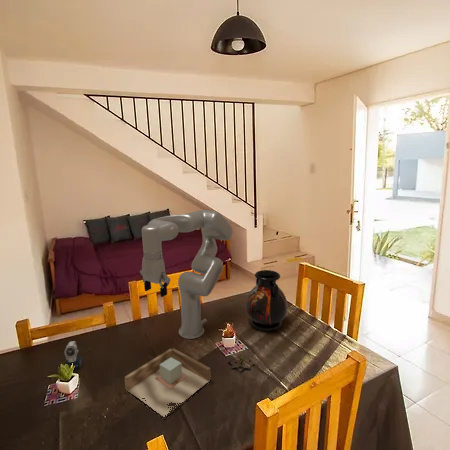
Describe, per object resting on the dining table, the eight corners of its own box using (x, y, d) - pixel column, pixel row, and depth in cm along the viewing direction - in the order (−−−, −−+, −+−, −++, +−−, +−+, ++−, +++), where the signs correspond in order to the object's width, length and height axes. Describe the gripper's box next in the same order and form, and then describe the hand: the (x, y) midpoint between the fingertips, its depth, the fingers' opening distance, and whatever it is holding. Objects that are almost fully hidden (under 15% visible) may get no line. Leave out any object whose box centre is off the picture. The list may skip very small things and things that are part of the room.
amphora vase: (238, 319, 177) (238, 270, 170) (271, 311, 186) (273, 264, 179) (258, 339, 158) (260, 285, 151) (295, 329, 167) (298, 278, 160)
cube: (171, 370, 134) (171, 357, 133) (181, 376, 130) (181, 363, 129) (160, 377, 129) (159, 364, 128) (170, 384, 126) (170, 370, 124)
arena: (172, 359, 142) (172, 347, 141) (210, 381, 129) (210, 368, 128) (125, 390, 124) (124, 376, 123) (164, 419, 111) (163, 404, 109)
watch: (64, 373, 133) (61, 349, 131) (68, 361, 141) (66, 338, 139) (79, 371, 135) (76, 347, 132) (82, 359, 142) (80, 337, 140)
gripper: (131, 253, 137) (135, 291, 141) (161, 261, 127) (163, 301, 131) (145, 248, 143) (148, 284, 147) (174, 256, 133) (176, 294, 137)
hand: (155, 292), depth 139 cm, fingers open, 9 cm apart
